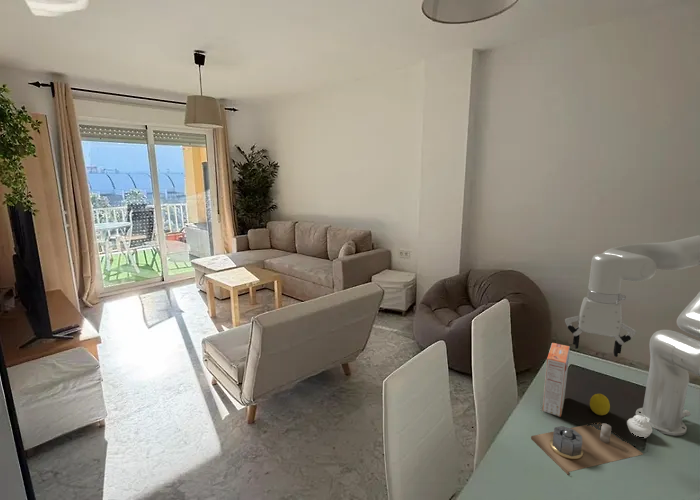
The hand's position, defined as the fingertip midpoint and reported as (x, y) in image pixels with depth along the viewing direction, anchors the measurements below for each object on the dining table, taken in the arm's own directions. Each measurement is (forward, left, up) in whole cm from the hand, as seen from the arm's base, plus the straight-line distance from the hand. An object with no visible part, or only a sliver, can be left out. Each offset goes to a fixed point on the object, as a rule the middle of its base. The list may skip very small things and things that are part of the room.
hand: (595, 350), depth 106 cm
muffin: (-15, +5, -28) cm, 33 cm away
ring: (+12, +5, -26) cm, 30 cm away
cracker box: (-1, -14, -28) cm, 32 cm away
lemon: (-12, -6, -28) cm, 31 cm away
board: (+5, +5, -28) cm, 29 cm away
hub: (+12, +5, -28) cm, 31 cm away
